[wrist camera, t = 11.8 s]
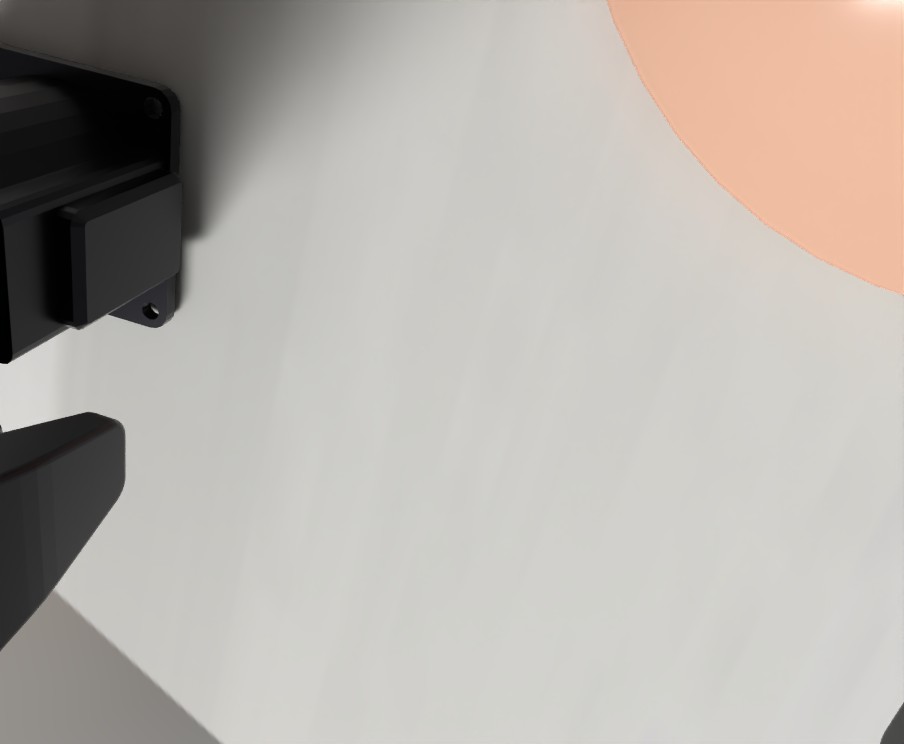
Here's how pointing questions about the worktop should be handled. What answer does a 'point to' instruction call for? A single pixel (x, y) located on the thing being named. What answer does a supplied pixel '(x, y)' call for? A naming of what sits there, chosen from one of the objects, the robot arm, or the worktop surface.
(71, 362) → the worktop surface
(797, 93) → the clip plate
